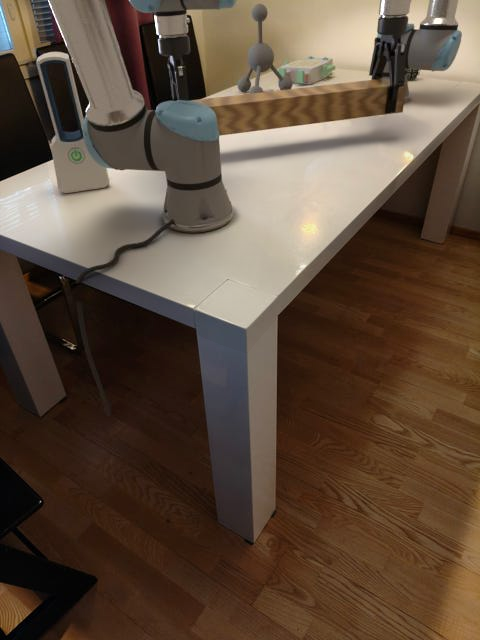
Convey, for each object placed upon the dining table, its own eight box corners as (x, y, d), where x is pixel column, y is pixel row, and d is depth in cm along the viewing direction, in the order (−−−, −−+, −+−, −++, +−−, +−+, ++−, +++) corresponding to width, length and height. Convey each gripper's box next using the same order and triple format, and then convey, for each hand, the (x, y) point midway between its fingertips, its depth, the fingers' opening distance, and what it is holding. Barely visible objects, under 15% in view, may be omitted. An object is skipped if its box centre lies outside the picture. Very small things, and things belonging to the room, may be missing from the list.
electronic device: (59, 194, 121) (20, 60, 103) (60, 183, 127) (23, 54, 108) (110, 187, 123) (80, 54, 105) (108, 176, 129) (80, 48, 111)
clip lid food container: (301, 54, 217) (341, 57, 207) (300, 70, 221) (340, 74, 211) (269, 65, 201) (312, 69, 191) (269, 82, 205) (311, 87, 195)
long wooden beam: (171, 141, 126) (167, 111, 122) (167, 132, 133) (163, 103, 128) (402, 112, 137) (407, 83, 132) (388, 105, 144) (391, 77, 139)
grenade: (402, 81, 196) (406, 53, 190) (402, 77, 200) (406, 50, 194) (419, 81, 194) (424, 53, 188) (419, 78, 199) (423, 50, 193)
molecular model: (306, 97, 183) (309, 2, 165) (252, 105, 177) (249, 8, 159) (279, 85, 201) (279, -2, 182) (229, 92, 195) (224, 3, 177)
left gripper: (196, 40, 108) (205, 143, 122) (182, 29, 125) (191, 120, 139) (162, 43, 107) (175, 146, 121) (153, 31, 124) (165, 123, 138)
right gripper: (429, 19, 118) (413, 116, 132) (387, 10, 134) (377, 97, 148) (400, 22, 116) (387, 120, 130) (362, 12, 133) (354, 100, 147)
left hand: (184, 132), depth 130 cm, fingers closed on long wooden beam, 9 cm apart
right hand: (382, 108), depth 139 cm, fingers closed on long wooden beam, 9 cm apart
